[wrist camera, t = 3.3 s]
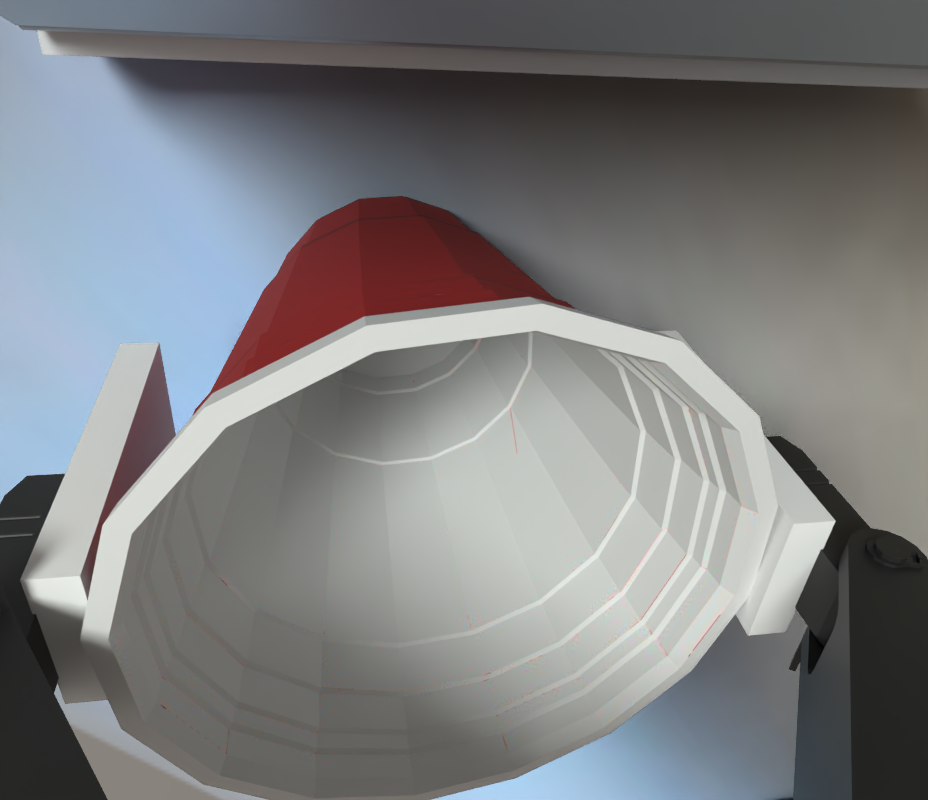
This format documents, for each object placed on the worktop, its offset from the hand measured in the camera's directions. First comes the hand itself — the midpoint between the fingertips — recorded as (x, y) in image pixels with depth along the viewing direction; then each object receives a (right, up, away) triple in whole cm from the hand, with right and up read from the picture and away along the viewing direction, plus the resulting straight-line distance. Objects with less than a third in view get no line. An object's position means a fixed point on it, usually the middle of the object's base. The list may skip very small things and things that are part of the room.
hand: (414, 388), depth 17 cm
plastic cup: (-1, +3, +4) cm, 5 cm away
